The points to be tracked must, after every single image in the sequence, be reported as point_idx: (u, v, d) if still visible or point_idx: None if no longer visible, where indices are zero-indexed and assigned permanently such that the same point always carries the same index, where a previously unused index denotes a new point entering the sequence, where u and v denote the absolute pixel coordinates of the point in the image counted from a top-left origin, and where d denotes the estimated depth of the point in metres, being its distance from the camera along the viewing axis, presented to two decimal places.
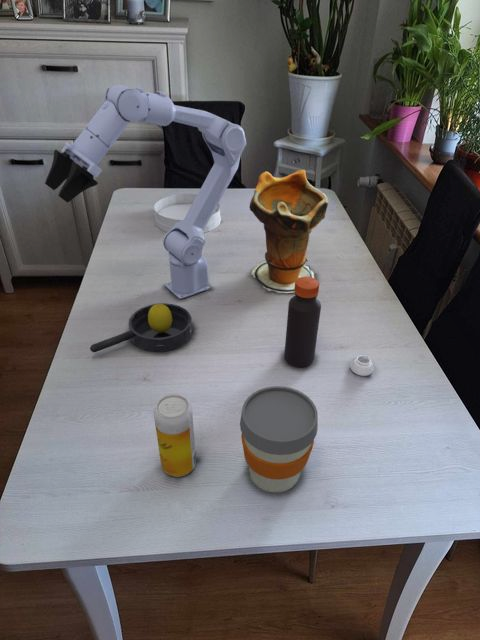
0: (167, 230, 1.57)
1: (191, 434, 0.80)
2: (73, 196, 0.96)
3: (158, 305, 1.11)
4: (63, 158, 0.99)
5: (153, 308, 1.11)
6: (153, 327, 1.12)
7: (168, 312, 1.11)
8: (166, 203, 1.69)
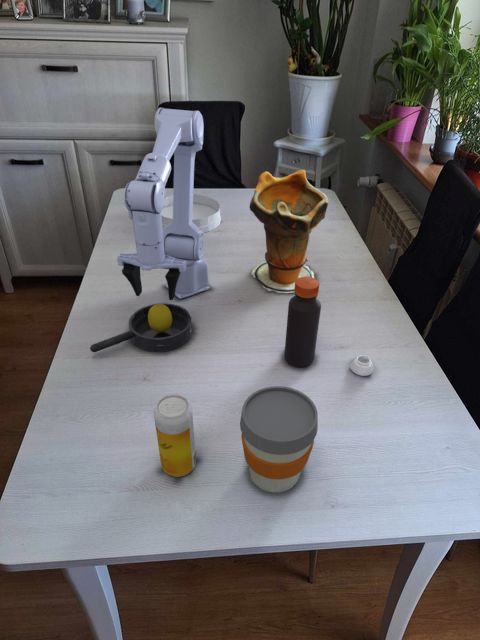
0: None
1: (191, 434, 0.80)
2: (175, 289, 1.08)
3: (158, 305, 1.11)
4: (134, 271, 1.04)
5: (153, 308, 1.11)
6: (153, 327, 1.12)
7: (168, 312, 1.11)
8: (166, 203, 1.69)
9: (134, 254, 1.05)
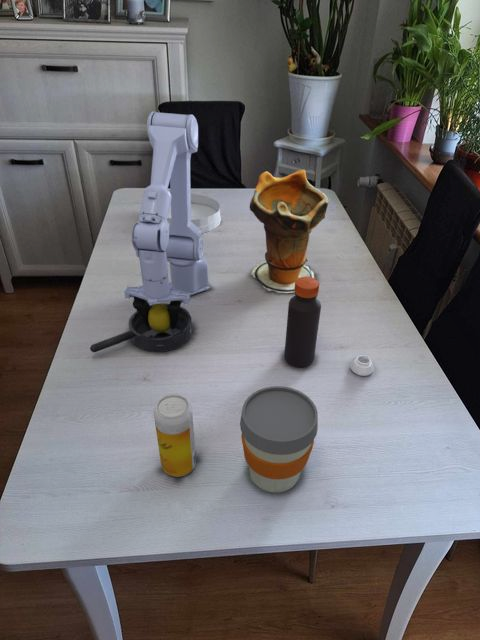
0: None
1: (191, 434, 0.80)
2: (176, 318, 1.14)
3: (158, 305, 1.11)
4: (144, 304, 1.10)
5: (153, 308, 1.11)
6: (153, 327, 1.12)
7: None
8: None
9: (140, 287, 1.10)
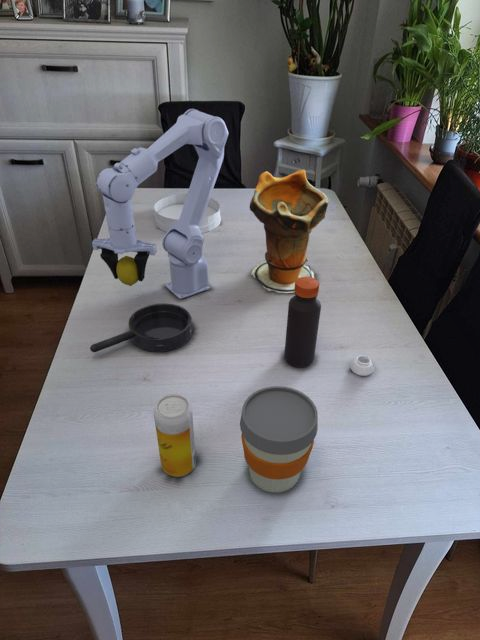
0: (167, 230, 1.57)
1: (191, 434, 0.80)
2: (144, 271, 1.16)
3: (126, 257, 1.13)
4: (111, 255, 1.12)
5: (121, 260, 1.13)
6: (121, 279, 1.14)
7: None
8: (166, 203, 1.69)
9: (108, 239, 1.13)
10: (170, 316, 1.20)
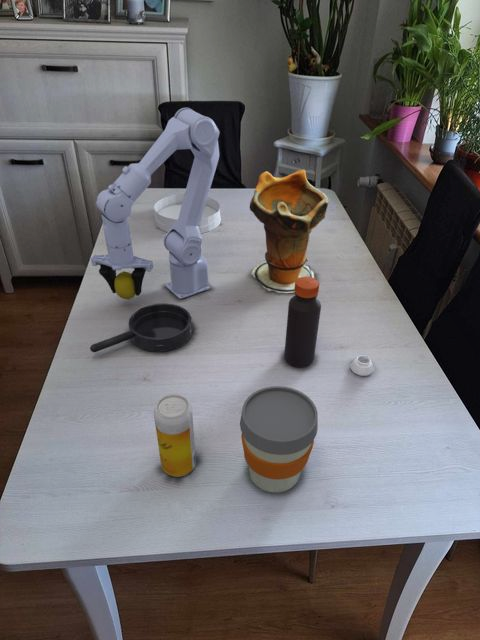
0: (167, 230, 1.57)
1: (191, 434, 0.80)
2: (141, 285, 1.21)
3: (123, 272, 1.18)
4: (110, 271, 1.17)
5: (119, 275, 1.18)
6: (119, 293, 1.19)
7: None
8: (166, 203, 1.69)
9: (106, 255, 1.17)
10: (170, 316, 1.20)
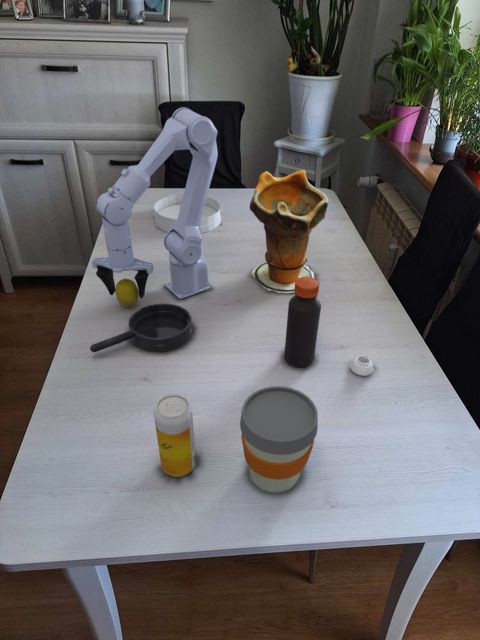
0: (167, 230, 1.57)
1: (191, 434, 0.80)
2: (144, 288, 1.22)
3: (124, 279, 1.19)
4: (107, 273, 1.18)
5: (120, 282, 1.19)
6: (120, 300, 1.20)
7: (134, 286, 1.20)
8: (166, 203, 1.69)
9: (107, 258, 1.18)
10: (170, 316, 1.20)
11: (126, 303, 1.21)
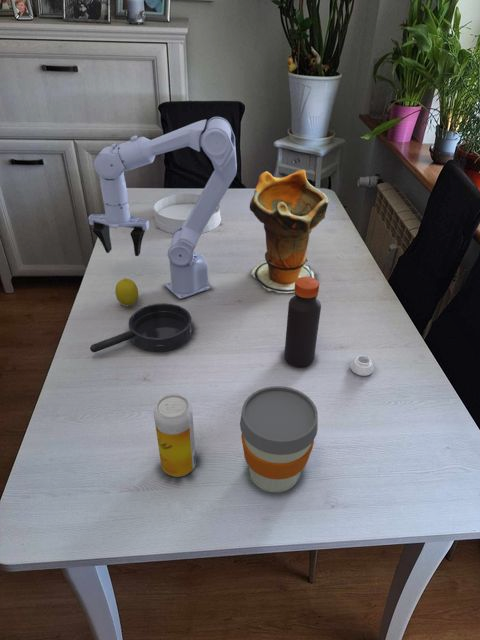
0: (167, 230, 1.57)
1: (191, 434, 0.80)
2: (140, 246, 1.24)
3: (124, 279, 1.19)
4: (103, 230, 1.20)
5: (120, 282, 1.19)
6: (120, 300, 1.20)
7: (134, 286, 1.20)
8: (166, 203, 1.69)
9: (103, 215, 1.20)
10: (170, 316, 1.20)
11: (126, 303, 1.21)
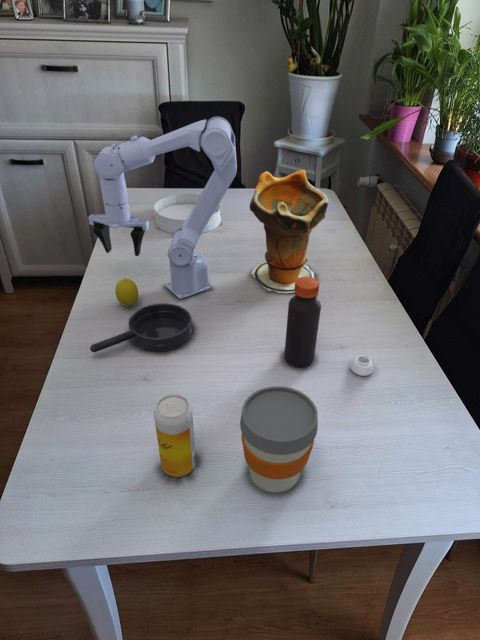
0: (167, 230, 1.57)
1: (191, 434, 0.80)
2: (140, 246, 1.24)
3: (124, 279, 1.19)
4: (103, 230, 1.20)
5: (120, 282, 1.19)
6: (120, 300, 1.20)
7: (134, 286, 1.20)
8: (166, 203, 1.69)
9: (103, 215, 1.20)
10: (170, 316, 1.20)
11: (126, 303, 1.21)
